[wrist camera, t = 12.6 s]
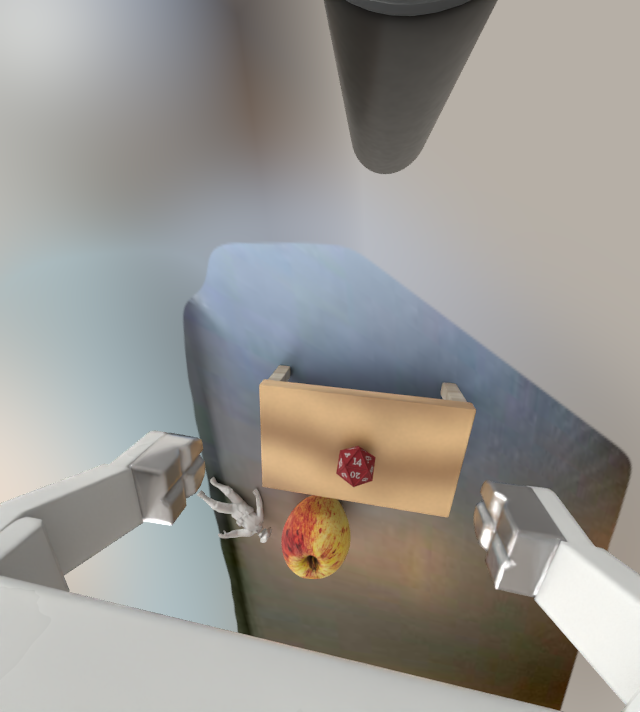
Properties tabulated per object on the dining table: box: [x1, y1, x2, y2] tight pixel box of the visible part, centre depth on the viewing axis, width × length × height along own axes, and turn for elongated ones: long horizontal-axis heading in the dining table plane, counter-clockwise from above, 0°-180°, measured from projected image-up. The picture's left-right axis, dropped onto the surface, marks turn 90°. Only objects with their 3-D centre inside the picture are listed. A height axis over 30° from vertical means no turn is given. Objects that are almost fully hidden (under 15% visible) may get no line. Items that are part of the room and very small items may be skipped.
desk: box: [259, 365, 476, 517], centre depth 36 cm, size 14×22×6 cm, turn 88°
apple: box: [282, 495, 350, 579], centre depth 40 cm, size 9×9×10 cm
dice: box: [336, 446, 376, 487], centre depth 31 cm, size 4×4×4 cm
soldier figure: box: [197, 477, 272, 543], centre depth 45 cm, size 8×5×12 cm
